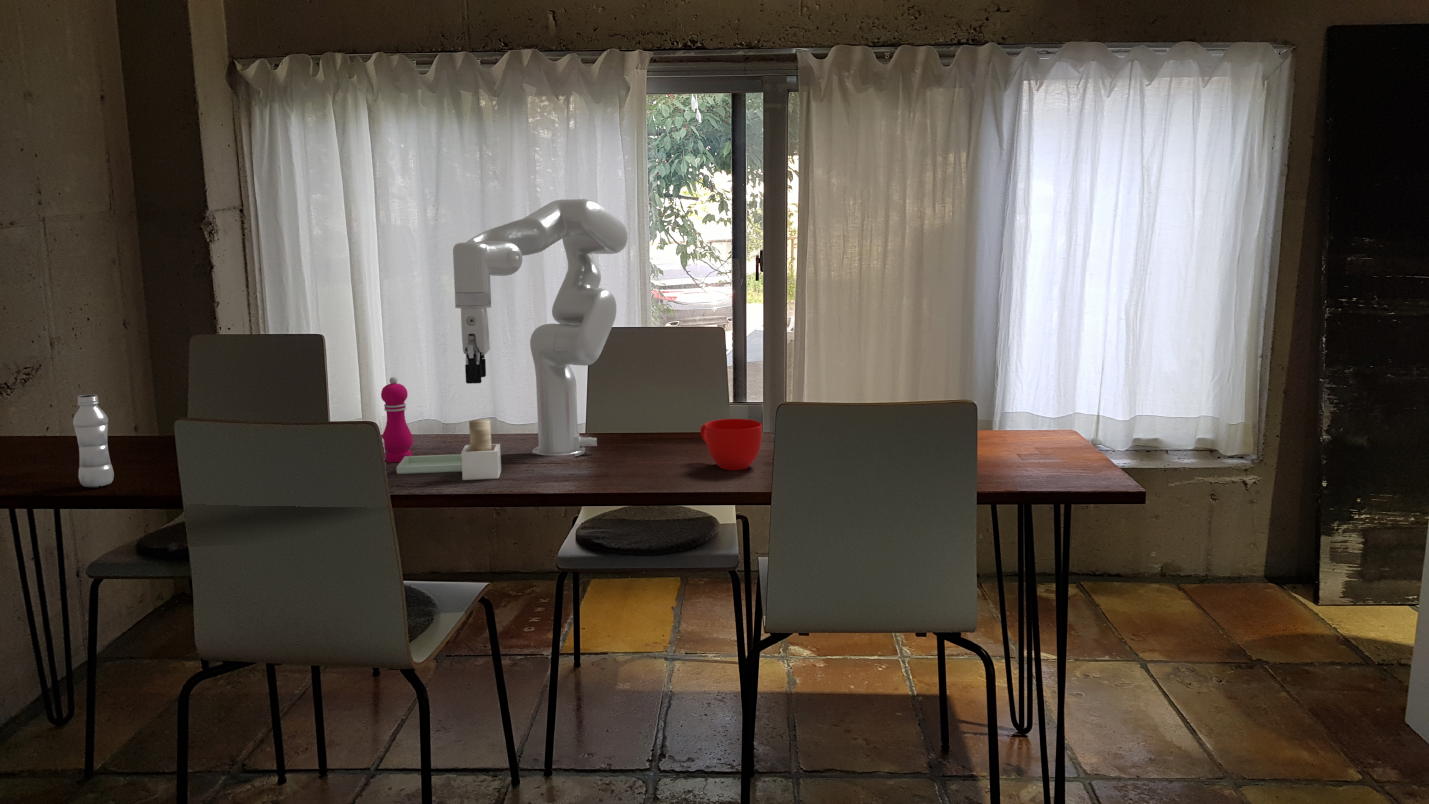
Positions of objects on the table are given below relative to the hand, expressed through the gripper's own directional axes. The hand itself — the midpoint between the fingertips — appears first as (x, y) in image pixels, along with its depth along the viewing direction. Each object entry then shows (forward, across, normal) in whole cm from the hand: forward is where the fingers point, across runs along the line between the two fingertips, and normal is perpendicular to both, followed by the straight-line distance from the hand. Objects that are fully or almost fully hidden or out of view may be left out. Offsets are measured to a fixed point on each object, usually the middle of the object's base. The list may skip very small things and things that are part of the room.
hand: (476, 380), depth 226 cm
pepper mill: (+22, +24, +22) cm, 39 cm away
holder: (+22, +1, 0) cm, 22 cm away
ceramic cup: (+22, +5, -55) cm, 60 cm away
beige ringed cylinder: (+21, +1, 0) cm, 21 cm away
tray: (+22, +10, +11) cm, 27 cm away
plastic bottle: (+23, +8, +83) cm, 86 cm away
